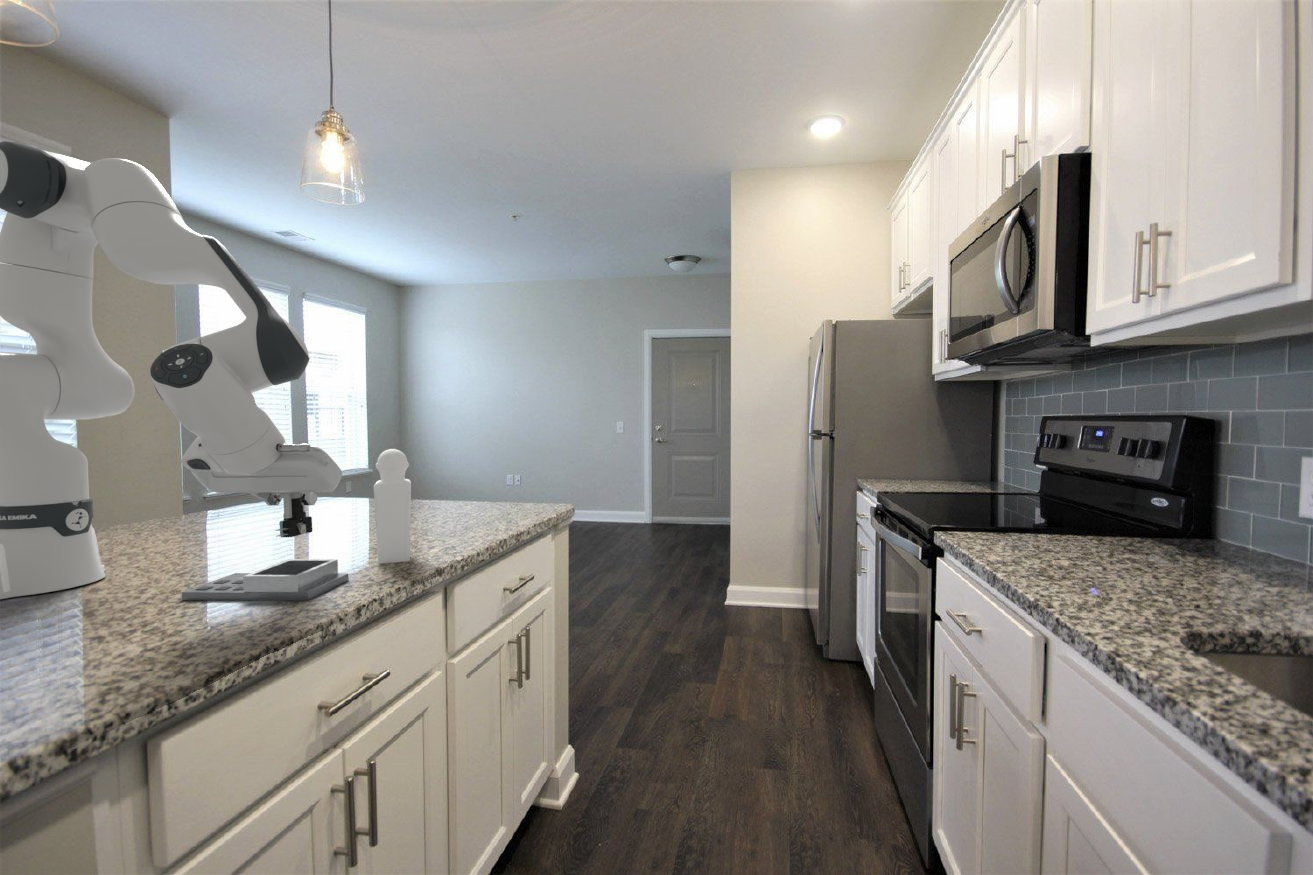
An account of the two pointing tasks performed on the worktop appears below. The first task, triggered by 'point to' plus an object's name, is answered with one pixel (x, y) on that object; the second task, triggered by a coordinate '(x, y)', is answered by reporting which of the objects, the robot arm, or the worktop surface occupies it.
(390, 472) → the white bottle
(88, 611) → the worktop surface
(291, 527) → the push button
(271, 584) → the organizer
